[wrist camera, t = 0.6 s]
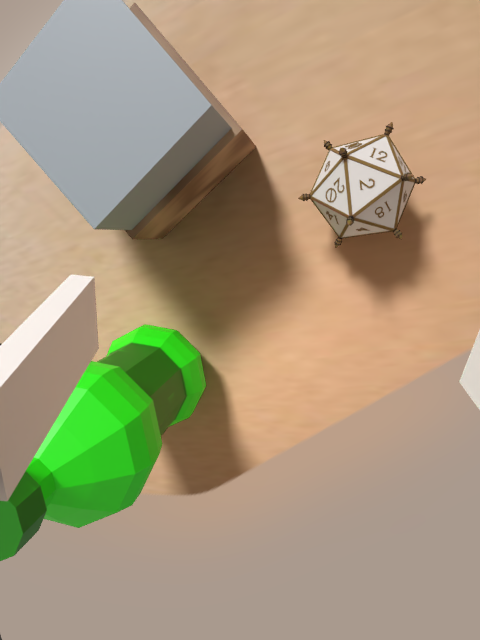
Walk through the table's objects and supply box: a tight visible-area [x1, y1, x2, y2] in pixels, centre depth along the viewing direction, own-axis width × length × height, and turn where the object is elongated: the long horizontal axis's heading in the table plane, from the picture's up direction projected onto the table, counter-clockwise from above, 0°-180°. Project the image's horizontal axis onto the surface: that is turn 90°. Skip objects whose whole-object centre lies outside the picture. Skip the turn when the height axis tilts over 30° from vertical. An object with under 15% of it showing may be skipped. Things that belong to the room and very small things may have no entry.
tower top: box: [0, 0, 231, 230], centre depth 31 cm, size 11×11×6 cm
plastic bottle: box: [0, 325, 206, 561], centre depth 32 cm, size 10×10×25 cm
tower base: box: [125, 3, 256, 239], centre depth 37 cm, size 12×12×7 cm
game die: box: [298, 122, 426, 247], centre depth 34 cm, size 9×8×10 cm
